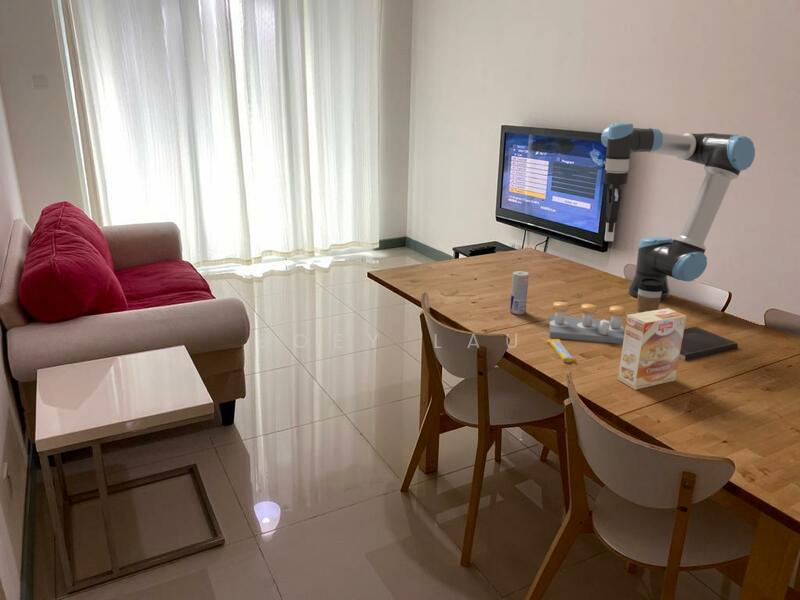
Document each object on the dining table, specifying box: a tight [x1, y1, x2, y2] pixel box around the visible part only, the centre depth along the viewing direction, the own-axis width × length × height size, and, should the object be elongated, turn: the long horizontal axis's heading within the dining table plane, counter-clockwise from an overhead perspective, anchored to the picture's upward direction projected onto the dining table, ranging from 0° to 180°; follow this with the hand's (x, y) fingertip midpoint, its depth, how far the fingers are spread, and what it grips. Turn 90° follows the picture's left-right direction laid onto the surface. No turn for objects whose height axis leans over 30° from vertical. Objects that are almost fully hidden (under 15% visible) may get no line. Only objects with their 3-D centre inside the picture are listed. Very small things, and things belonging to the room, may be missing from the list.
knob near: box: [608, 305, 627, 329], centre depth 202 cm, size 5×5×7 cm
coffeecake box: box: [617, 307, 688, 391], centre depth 168 cm, size 15×7×20 cm, turn 114°
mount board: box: [548, 314, 625, 345], centre depth 205 cm, size 24×16×2 cm, turn 78°
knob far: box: [552, 301, 570, 324], centre depth 205 cm, size 5×5×7 cm
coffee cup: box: [636, 278, 664, 313], centre depth 213 cm, size 8×8×15 cm
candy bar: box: [546, 338, 577, 364], centre depth 189 cm, size 17×4×2 cm, turn 4°
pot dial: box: [598, 319, 610, 335], centre depth 198 cm, size 3×3×4 cm
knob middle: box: [580, 303, 598, 327], centre depth 204 cm, size 5×5×7 cm
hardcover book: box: [679, 326, 739, 362], centre depth 195 cm, size 16×23×2 cm
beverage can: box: [509, 270, 529, 315], centre depth 221 cm, size 6×6×15 cm
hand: (608, 240), depth 212 cm, fingers closed
